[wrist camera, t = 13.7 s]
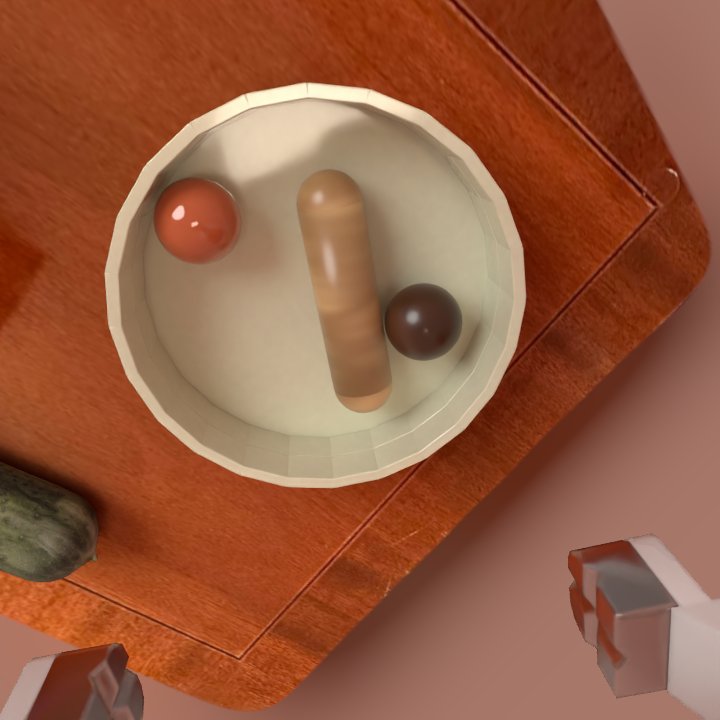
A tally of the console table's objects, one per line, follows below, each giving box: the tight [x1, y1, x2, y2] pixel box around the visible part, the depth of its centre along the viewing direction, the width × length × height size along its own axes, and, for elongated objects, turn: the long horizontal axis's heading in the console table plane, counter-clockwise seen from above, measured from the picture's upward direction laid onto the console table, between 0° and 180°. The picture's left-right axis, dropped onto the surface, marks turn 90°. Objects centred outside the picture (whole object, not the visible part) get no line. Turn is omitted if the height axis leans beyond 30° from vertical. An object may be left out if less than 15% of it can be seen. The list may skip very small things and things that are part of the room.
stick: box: [296, 169, 392, 413], centre depth 30 cm, size 13×3×3 cm
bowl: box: [105, 82, 526, 488], centre depth 30 cm, size 19×19×5 cm
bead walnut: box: [385, 283, 463, 361], centre depth 30 cm, size 4×4×4 cm
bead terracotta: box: [153, 177, 242, 265], centre depth 28 cm, size 4×4×4 cm
